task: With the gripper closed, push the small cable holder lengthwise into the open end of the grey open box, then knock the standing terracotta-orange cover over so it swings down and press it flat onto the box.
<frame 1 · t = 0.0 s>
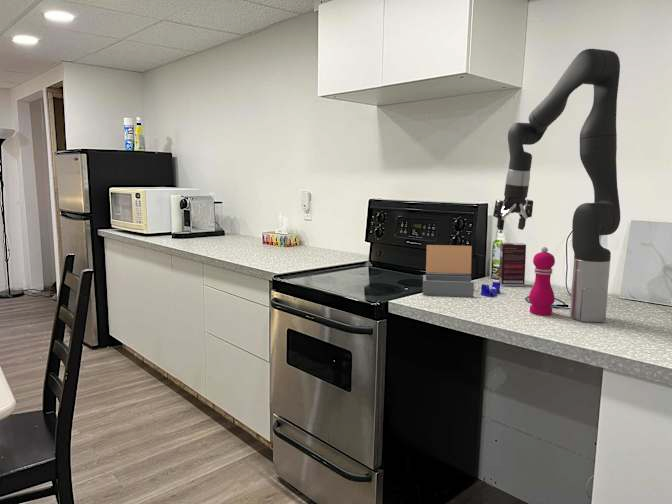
hand: (510, 229, 176), 22 cm above the countertop, tool pointing down, fingers open, 8 cm apart
cover: (448, 260, 184), point 10 cm above the countertop, hinge at 100.0°
cable holder: (492, 295, 176), on the countertop
pepper mill: (540, 313, 152), on the countertop
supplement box: (511, 285, 191), on the countertop
grey open box: (448, 292, 179), on the countertop
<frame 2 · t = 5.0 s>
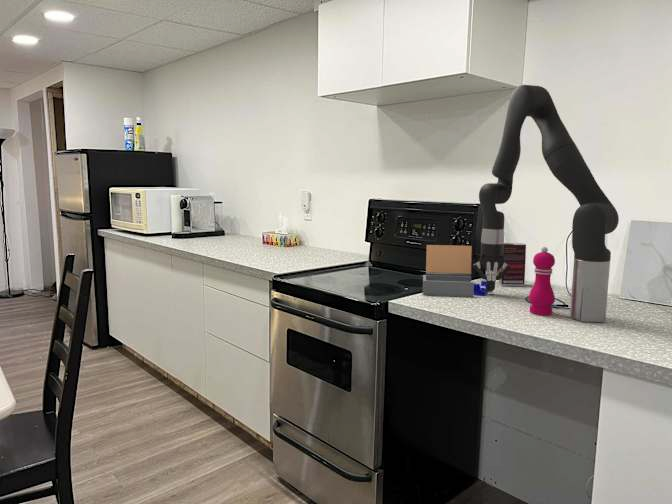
hand: (490, 291, 176), 1 cm above the countertop, tool pointing down, fingers closed
cable holder: (481, 294, 178), on the countertop, touching gripper
everything else where it was.
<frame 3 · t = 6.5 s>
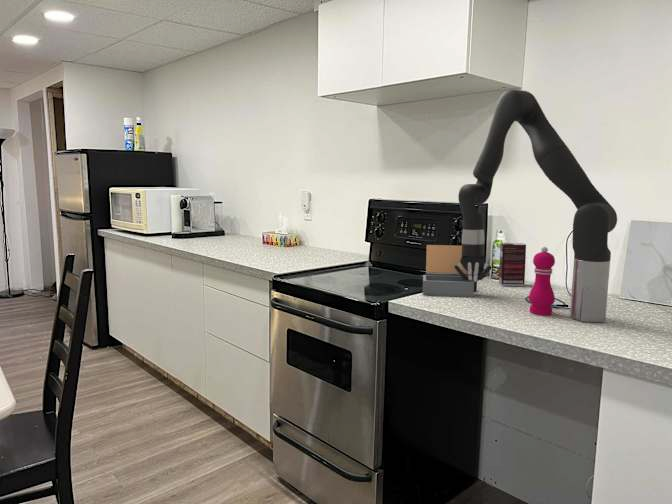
hand: (472, 291, 176), 1 cm above the countertop, tool pointing down, fingers closed
cable holder: (466, 293, 179), on the countertop, touching gripper
everything else where it was.
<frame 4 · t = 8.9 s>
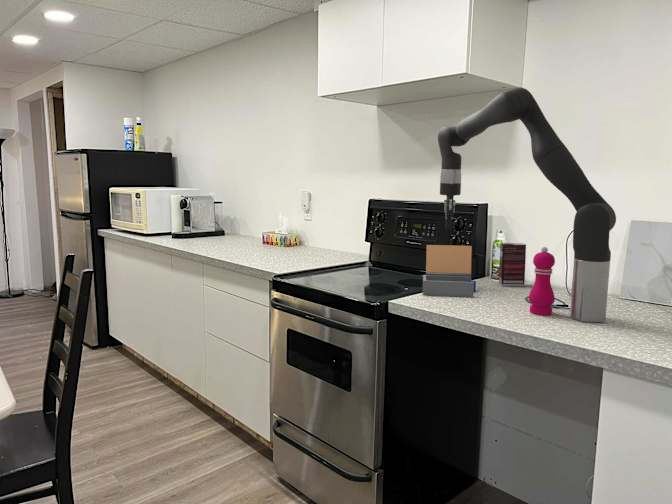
hand: (448, 228, 188), 21 cm above the countertop, tool pointing down, fingers closed
cable holder: (464, 293, 179), on the countertop
everything else where it was.
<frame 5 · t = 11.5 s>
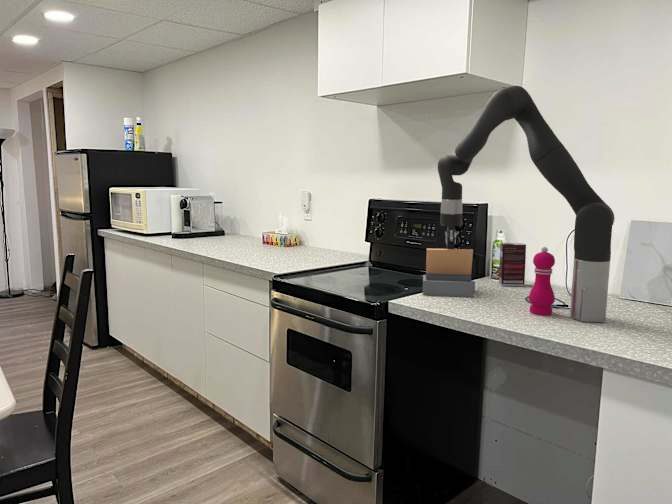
hand: (449, 260, 182), 11 cm above the countertop, tool pointing down, fingers closed
cover: (449, 262, 181), point 10 cm above the countertop, hinge at 66.9°, touching gripper
everything else where it was.
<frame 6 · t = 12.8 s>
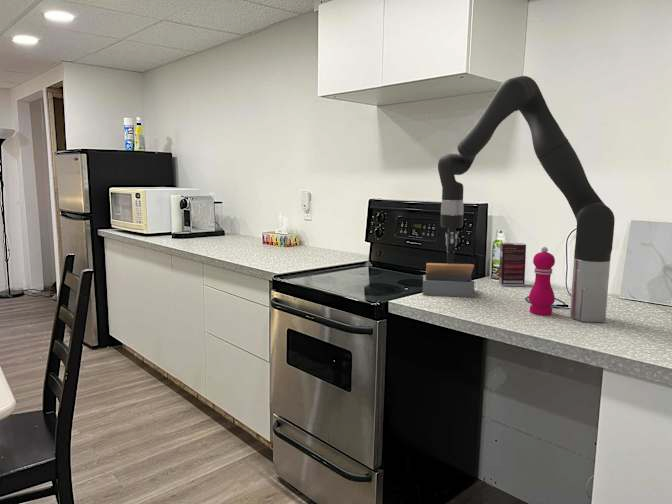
hand: (450, 263, 174), 11 cm above the countertop, tool pointing down, fingers closed
cover: (449, 269, 179), point 8 cm above the countertop, hinge at 28.6°
everything else where it was.
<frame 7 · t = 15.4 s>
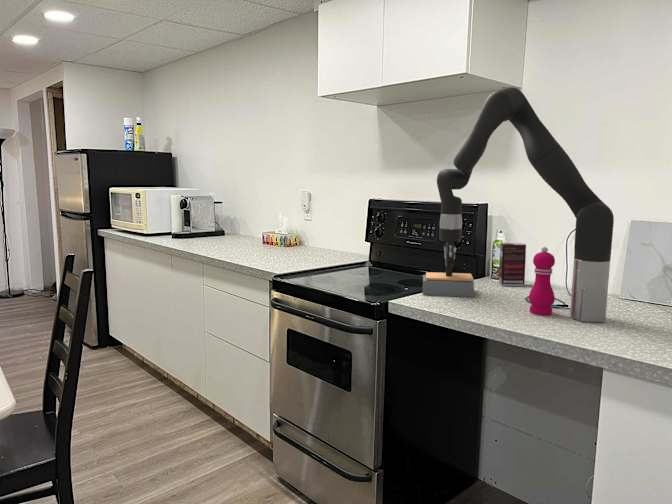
hand: (448, 276, 178), 6 cm above the countertop, tool pointing down, fingers closed
cover: (448, 276, 179), point 6 cm above the countertop, hinge at 0.0°, touching gripper
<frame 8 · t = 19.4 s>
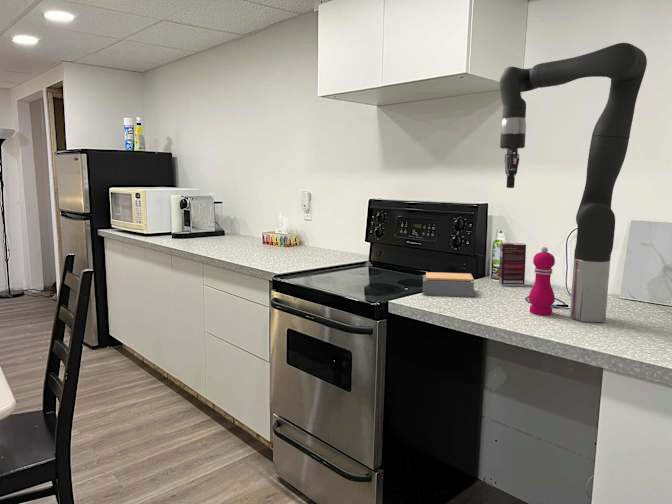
hand: (510, 187, 163), 37 cm above the countertop, tool pointing down, fingers closed
cover: (448, 276, 179), point 6 cm above the countertop, hinge at 0.0°
cable holder: (458, 292, 181), on the countertop
everything else where it was.
at the end: cable holder inside the target area (4.9 cm from its centre), on the countertop; cover at +0° (first picture: +100°) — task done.
